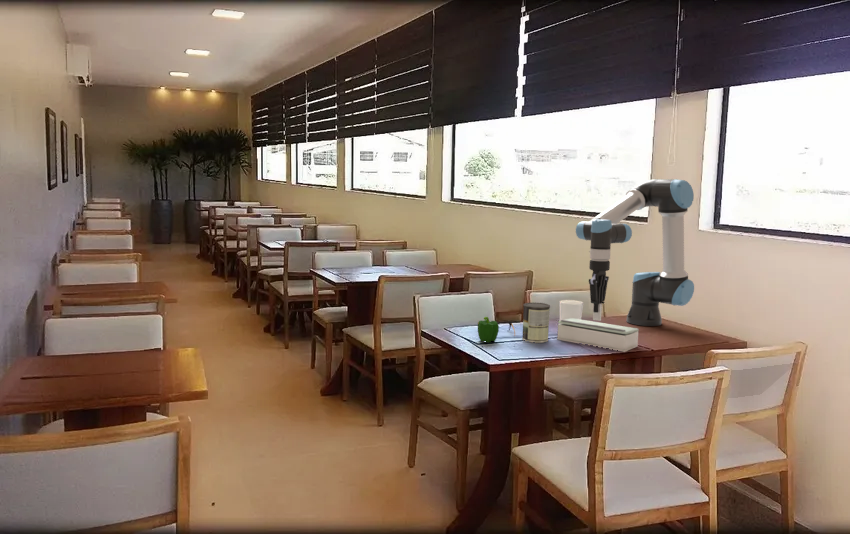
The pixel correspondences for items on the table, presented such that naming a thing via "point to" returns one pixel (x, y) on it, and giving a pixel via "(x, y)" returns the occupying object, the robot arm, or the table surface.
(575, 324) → the pale green rectangular panel
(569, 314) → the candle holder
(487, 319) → the bell pepper
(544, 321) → the coffee can
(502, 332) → the table surface
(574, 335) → the duct channel
